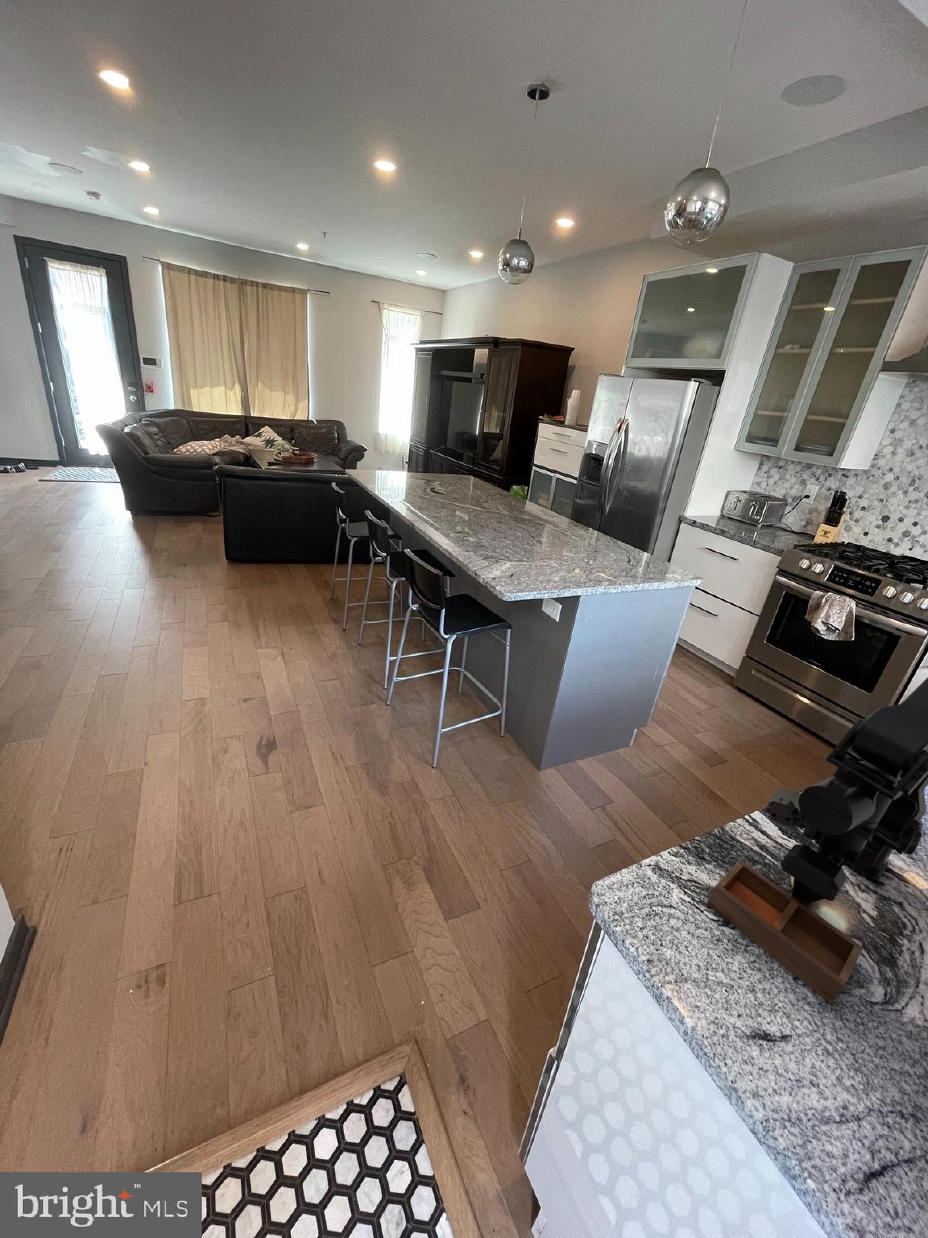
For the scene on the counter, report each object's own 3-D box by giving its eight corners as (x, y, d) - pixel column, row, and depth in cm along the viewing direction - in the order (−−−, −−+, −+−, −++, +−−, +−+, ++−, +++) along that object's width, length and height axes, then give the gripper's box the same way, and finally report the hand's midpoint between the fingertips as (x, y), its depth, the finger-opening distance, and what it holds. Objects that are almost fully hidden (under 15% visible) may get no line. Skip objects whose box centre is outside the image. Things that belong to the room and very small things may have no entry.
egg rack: (731, 876, 75) (740, 859, 73) (851, 965, 64) (863, 947, 63) (706, 904, 70) (714, 886, 68) (831, 1005, 59) (844, 986, 58)
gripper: (811, 751, 78) (772, 827, 84) (763, 794, 66) (722, 879, 72) (898, 796, 70) (849, 876, 76) (861, 854, 59) (806, 943, 65)
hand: (805, 890), depth 73 cm, fingers open, 8 cm apart
